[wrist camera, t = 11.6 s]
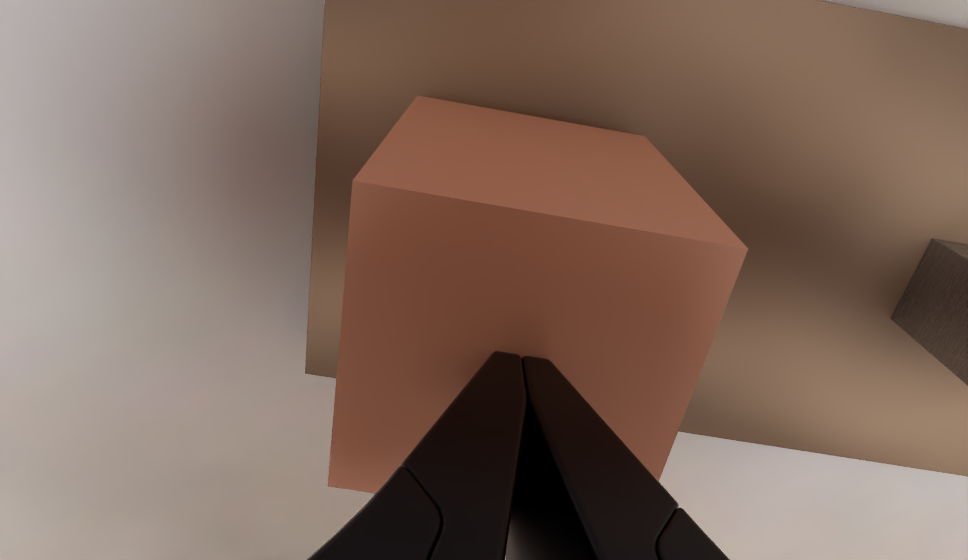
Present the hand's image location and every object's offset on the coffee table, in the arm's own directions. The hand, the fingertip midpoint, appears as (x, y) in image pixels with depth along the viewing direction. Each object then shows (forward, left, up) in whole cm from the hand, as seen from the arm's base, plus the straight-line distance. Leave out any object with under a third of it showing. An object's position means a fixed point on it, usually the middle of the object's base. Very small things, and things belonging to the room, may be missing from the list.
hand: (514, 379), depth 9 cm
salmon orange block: (0, 0, -7) cm, 6 cm away
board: (0, -6, -9) cm, 11 cm away
